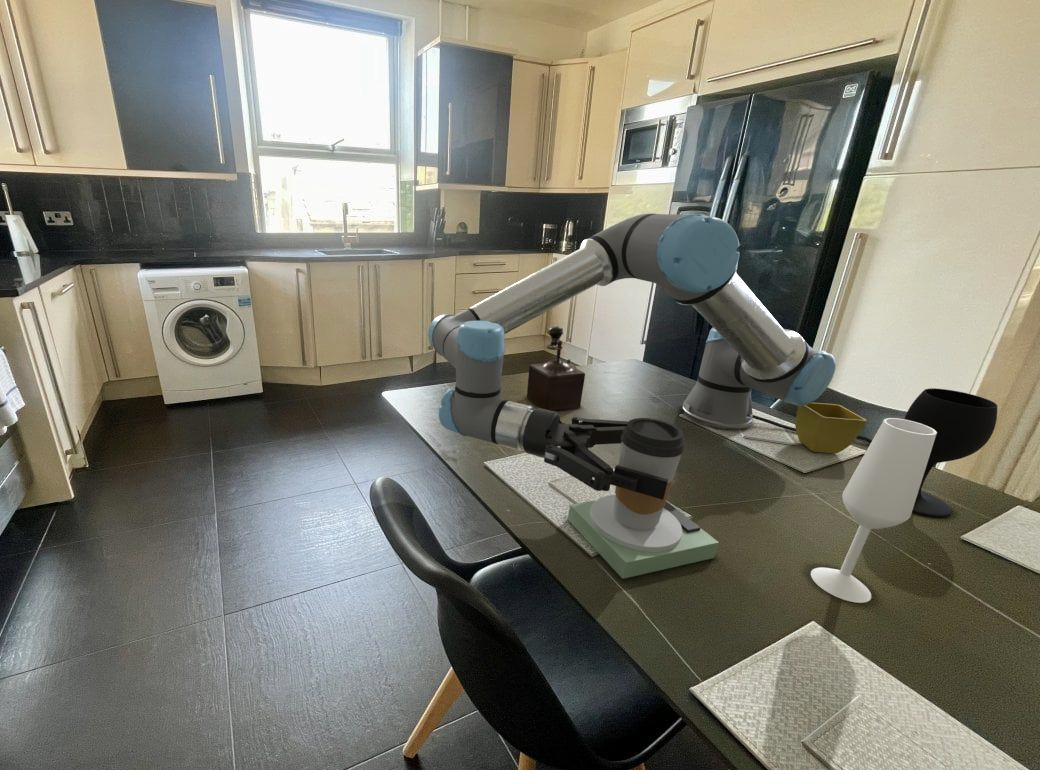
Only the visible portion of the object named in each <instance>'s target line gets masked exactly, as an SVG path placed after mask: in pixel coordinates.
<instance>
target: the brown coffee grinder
mask: <svg viewBox="0 0 1040 770" xmlns="http://www.w3.org/2000/svg"><path fill="white" fill-rule="evenodd" d="M563 334H564V329H563V328H562V327H560V326H557V325H556V326H552V327H550V328H549V329H548V335H549V336H550V338H551V339H550V342H549V343H550V344H547V345H546V346H545V347H546V349H548V350H551V351H552V350H553V351H556V358H555V359H552V360H549V361H547V362H541V363H533V364H529V367H528V378H527V390H526V398H527V399H528V400H529V401H530V402H531V403H533V404H534V405H535V406H537V408H542V409H546V410H550V411H554V412H559V411H568V410H575V409H580V408H581V407H582V406H581V404H582V399H583V398H582V397H583V392H584V385H585V380H586V379H585V377H586V373H585V372H584V371H582V370H580V369H579V368H577V367H576V366H575V365H574V364H572V363H571V359H570V358H569V359H567V360H566V361H565V360H563V359H561V352H562V349H563V343H564V342H563V341H562V340H561V337H562V335H563Z"/></svg>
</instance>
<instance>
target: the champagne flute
mask: <svg viewBox="0 0 1040 770" xmlns="http://www.w3.org/2000/svg"><path fill="white" fill-rule="evenodd" d="M904 419H905V418H904ZM904 419H903V418H899V417H898V418H896V417H887V418H884V419H883V420H882V423H881V424H880V426H879V428H878V430H877V431H876V432H875V435H874V436H873V438H872V439H871V440H872V442H871V444H870V443H869V446H868V447H867V449H866V450H865V452H864V454H863V456H862V458H861V460H860V462H859V463H858V465H857V467H856V469H854V472H853V474H852V476H851V478H850V479H849V481H848V483H847V484H846V486H845V488H844V490H843V491H842V494H841V495H842V496H841V499H842V502H843V504H844V506H845V509H846V511H847V512H848V513H849V515H850V516H851V517H852V518H853V520H854V521H855V522H856V523H857V524H859V526H858V527H857V530H856V532H855V535H854V537H853V539H852V542H851V544H850V547H849V548H848V551H847V553H846V555H845V558H844V561H843V563H842V565H841V566H840V569H836V568H831V567H823V566H821V567H815V568H813V569H812V570H811V571H810V576H811V579H812V581H813V582H814V583H815V584H816V585H817V586H818V587H819V588H821V589H822V590H823V591H825V592H826V593H828V594H829V595H832V596H834V597H835V598H838V599H841V600H843V601H847V602H852V603H857V604H863V603H865V604H866V603H868V602H870V601H871V600H872V593H871V591H870V589H869V588H868V587H867V586H866V585H865V584H864V583H862V582H861V581H860V580H859V579H857V578H856V577H855V576H854V575H852V573H853V571H854V568H855V566H856V564H857V562H858V560H859V557H860V556H861V553H862V550H863V548H864V546H865V545H866V541H867V539H868V537H869V535H870V533H871V530H879V529H880V530H881V529H886V528H892V527H895V526H898V525H902V524H903V523H905V522H907V521H908V520H909V519H910V518H911V516H912V514H913V513H912V510H913V507H914V504H915V501H916V497H917V494H918V491H919V488H920V485H921V481H922V478H923V475H924V472H925V469H926V466H927V462H928V459H929V456H930V453H931V450H932V447H933V443H934V440H935V437H936V434H937V432H936V431H935V430H934V429H933V428H931V427H928V426H926V425H923V424H920V423H917V422H913V421H909V420H904Z"/></svg>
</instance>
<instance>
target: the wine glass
mask: <svg viewBox="0 0 1040 770" xmlns="http://www.w3.org/2000/svg"><path fill="white" fill-rule="evenodd" d="M904 420H909V421H913V422H917V423H920V424H923V425H926V426H928V427H931V428H933V429H934V430H935V431H936V432H937V434H936V437H935V440H934V443H933V447H932V450H931V453H930V456H929V459H928V462H927V466H926V469H925V472H924V475H923V478H922V481H921V485H920V488H919V491H918V494H917V497H916V501H915V504H914V507H913V510H912V513H911V514H915V515H919V516H924V517H930V518H947V517H949V516H950V515H951V514H952V509H951V507H950V505H948V504H947V503H946V502H944V501H943V500H942V499H940V498H938V497H936V496H935V495H932V494H931V493H928V492H925V491H923V490H922V488H923V486H924V483H925V480H926V479H927V477H928V475H929V473H930V472H931V470H932V469H933V467H934V466H935V465H937V464H940V463H945V462H946V463H947V462H952V461H957V460H961V459H965V458H966V457H969V456H971V455H973V454H975V453H977V452H978V451H979V450H981V449H982V448H983V447H984V446H985V445H986V444H987V443H988V442H989V441H990V438H991V437H992V435H993V433H994V431H995V428H996V424H997V420H998V404H997V403H996V402H995V401H992V400H990V399H987V398H985V397H982V396H979V395H975V394H971V393H968V392H965V391H964V392H963V391H958V390H952V389H947V388H946V389H945V388H934V387H933V388H931V387H930V388H925V389H924V390H922V392H921V393H920V394H919V395H918V396H917V397H915V399H914V400H913V402H912V403H911V404H910V406H909V408H908V410H907V411H906V413H905V416H904Z"/></svg>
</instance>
